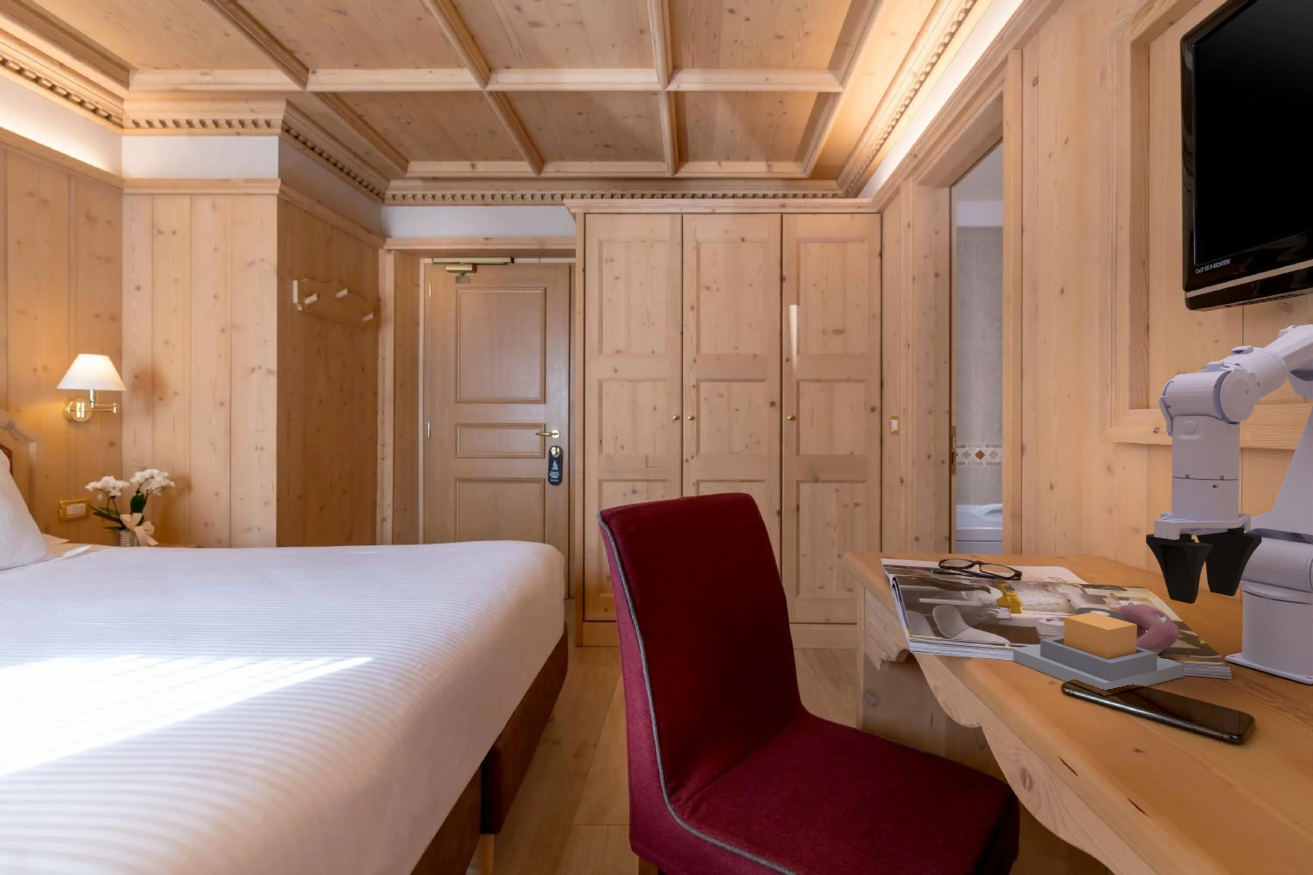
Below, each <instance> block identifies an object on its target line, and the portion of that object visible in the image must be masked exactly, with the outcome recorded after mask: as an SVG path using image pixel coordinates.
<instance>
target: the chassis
mask: <svg viewBox="0 0 1313 875" xmlns="http://www.w3.org/2000/svg"><path fill="white" fill-rule="evenodd" d="M1039 640H1040V641H1039V644H1038V643H1037V644H1032V645H1028V646H1022V647H1017V648H1013V650H1012V652H1013V653H1012V654H1013V655H1012V656H1013V657H1012V660H1013V662H1015V663H1017V664H1021V665H1022V666H1024V667H1027V668H1030V669H1033V670H1036V671H1038V672H1041V673H1043V674H1046V675H1048V676H1051V677H1054V678H1055V679H1059V680H1060V681H1063V682H1066V683H1068V681H1070V680H1073V679H1074V680H1075V679H1076V680H1079V681H1081V682H1084V683H1086V684H1089V685H1093V686H1095V687H1098V688H1100V689H1104V690H1108V689H1113V688H1117V687H1122V686H1126V685H1132V684H1134V685H1146V686H1145V687H1149V686H1153V685H1157V684H1162V683H1165V682H1168V681H1171V680H1172V681H1173V680H1177V679H1181V678H1184V677H1185V676H1184V675H1185V674H1184V672H1185V671H1184V669H1185V667H1184V666H1185V664H1184V663H1182V662H1178V661H1175V660H1172V659H1169V658H1166V659H1163V658H1164V657H1163V658H1158V657H1157V656H1158V655H1157V653H1156V652H1152V651H1149V650H1146V649H1142V648H1139V647H1137V653H1136V654H1132V655H1127V656H1123V657H1118V658H1114V659H1109V660H1107V659H1104V658H1101V657H1098V656H1095V655H1092V654H1089V653H1086V652H1083V651H1080V650H1077V649H1074V648H1071V647H1068V646H1065V645H1064V634H1062V635H1058V636H1051V637H1047V638H1043V639H1039Z"/></svg>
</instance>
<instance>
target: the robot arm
mask: <svg viewBox="0 0 1313 875" xmlns="http://www.w3.org/2000/svg"><path fill="white" fill-rule="evenodd" d="M1287 380H1288V382H1289V384H1290V386H1292V387H1291V388H1292V389H1293V391H1294V394H1295V395H1298V396H1299V397H1303V398H1305V399H1308V400H1310V401H1312V402H1313V324H1312V323H1311V324H1305V325H1301V324H1292V325H1290V326H1287V327H1286V328H1283V329H1280V330H1279V332H1278V334H1277V338H1276V339H1275V340H1274V341H1273V342H1271V343H1270V344H1268V345H1266V346H1265V347H1256V346H1255V347H1254V346H1253V345H1250V344H1249V345H1242V346H1236V347H1234V348H1232V349H1230V355H1228V356H1226V357H1224V358H1222V359H1221V360H1216V361H1209V362H1208V363H1206V364H1205V368H1203V369H1201V370H1199V371H1197V372H1192V373H1191V372H1190V373H1179V374H1177V375H1176V376H1174V377H1173V378H1171V379H1170V380H1168V381H1167V382H1166V383H1165V385H1164V386H1163V389H1162V392H1161V396H1160V397H1159V398H1158V399H1159V400H1158V401H1159V408H1160V412H1161V413H1162V415H1163V418H1164V419H1165V427H1166V428H1165V432H1166V433H1167V436H1168V437H1170V438H1171V439H1172V440H1171V445H1172V446H1171V494H1170V495H1171V498H1170V500H1171V508H1170V510H1171V511H1166V512H1164V511H1163V512H1160V514H1159V515H1160V516H1159V518H1157V519H1154V520H1153V533H1150V534H1149V533H1148V534H1146V535H1145V543H1146V545H1147V546H1148V547H1149V549H1150V550H1151V551H1152V553H1153V555H1154V557H1155V559H1156V560H1157V563H1158V564H1159V567H1160V570H1161V573H1162V576H1163V579H1164V583H1165V586H1166V590H1167V591H1166V592H1167V594H1168V596H1169V597H1168V598H1170V599H1169V600H1172V601H1176V602H1180V603H1184V604H1188V605H1193V604H1195V603H1196V600H1197V597H1198V594H1199V589H1200V588H1199V587H1200V581H1201V576H1202V572H1203V568H1204V565H1205V571H1206V582H1207V586H1208V589H1209V592H1210V593H1212V594H1213V593H1214V594H1217V595H1222V596H1223V595H1224V596H1227V597H1235V596H1236V594H1237V591H1238V589H1239V590H1242V634H1241V635H1242V640H1241V641H1242V646H1241V648H1242V650H1241V652H1238V653H1233V654H1229V655H1226V656H1224V660H1225V661H1228V662H1230V663H1235V664H1238V665H1241V666H1244V667H1248V668H1252V669H1254V670H1255V669H1256V670H1258V671H1262V672H1266V673H1269V674H1272V675H1275V676H1279V677H1283V678H1287V679H1290V680H1293V681H1296V682H1301V683H1303V684H1308V685H1309V684H1310V685H1312V684H1313V406H1312V408H1311V410H1310V413H1309V415H1308V417H1307V420H1306V423H1305V425H1304V428H1303V430H1302V433H1301V436H1300V438H1299V441H1298V443H1297V446H1296V448H1295V450H1294V454H1293V455H1292V458H1291V460H1290V463H1289V466H1288V468H1287V471H1286V473H1285V477H1284V478H1283V482H1282V483H1281V486H1280V489H1279V492H1278V494H1277V496H1276V499H1275V502H1274V504H1273V507H1272V509H1271V510H1269V511H1266V512H1264V513H1261V514H1259V515H1256V516H1253V517H1252V514H1251V513H1241V512H1239V511H1240V509H1239V508H1240V506H1239V504H1240V448H1241V442H1240V441H1241V438H1240V437H1241V422H1243V421H1244V422H1246V421H1248V419H1249V418H1250V417H1251V415H1252V413H1253V411H1254V408H1255V406H1256V404H1257V403H1260V400H1261V399H1262V398H1264V397H1266V396H1267V395H1270V394H1271V393H1273V392H1275V391H1277V390H1279V389H1280V388H1281V387H1282V386H1283V385H1284V384H1285V382H1286V381H1287ZM1194 536H1196V539H1197V541H1196V539H1195V538H1193V537H1194Z"/></svg>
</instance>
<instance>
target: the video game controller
mask: <svg viewBox="0 0 1313 875" xmlns="http://www.w3.org/2000/svg"><path fill="white" fill-rule="evenodd" d="M1115 612H1118V613H1120V614H1122V615H1124V617H1125V621H1126V622H1130V623H1133V624H1137V636H1141V637H1140V638H1138V639H1137V647H1139V648H1142V649H1151V650H1153V649H1165V648H1166V649H1168V648H1169V647H1172V646H1173V645H1174V644H1175V643H1176V642H1177V640H1178V639H1179V635H1180V630H1179V627H1178V626H1177V625H1176V624H1175V623H1174V622H1173V621H1172V619H1171V618H1170V617H1169V615H1167V614H1166V613H1165V612H1163V611H1162V610H1161V609H1159V608H1157V607H1154V606H1151V605H1148V604H1145V603H1142V604H1141V603H1136V604H1135V603H1133V601H1129V602H1128V603H1127V604H1125V605H1121V607H1119V608H1117V610H1115ZM1166 649H1165V650H1166Z"/></svg>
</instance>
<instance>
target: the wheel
mask: <svg viewBox="0 0 1313 875" xmlns="http://www.w3.org/2000/svg"><path fill="white" fill-rule="evenodd" d="M1115 611H1116V610H1115ZM1115 611H1113V610H1110V609H1105V608H1100V607H1089V606H1088V607H1085V606H1084V607H1079V608H1076V614H1075V615H1079V614H1085V613H1091V612H1093V613H1097V614H1101V615H1104V616H1108V617H1112V618H1115V619H1119V620H1122V621H1125V617H1124V615H1122V614H1120V613H1118V612H1115Z"/></svg>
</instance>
